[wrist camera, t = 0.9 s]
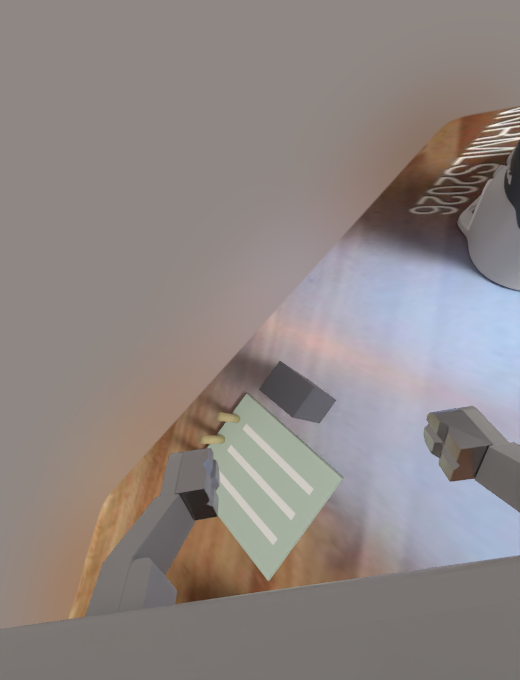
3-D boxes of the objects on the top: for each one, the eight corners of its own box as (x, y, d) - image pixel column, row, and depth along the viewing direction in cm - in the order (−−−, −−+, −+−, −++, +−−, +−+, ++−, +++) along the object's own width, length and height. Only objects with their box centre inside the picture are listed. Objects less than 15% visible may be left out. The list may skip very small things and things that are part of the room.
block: (307, 378, 44) (278, 359, 33) (336, 400, 41) (314, 386, 31) (291, 400, 44) (257, 388, 33) (319, 423, 41) (292, 417, 31)
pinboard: (249, 394, 47) (230, 388, 42) (343, 477, 38) (334, 483, 32) (191, 474, 47) (165, 478, 42) (271, 577, 38) (250, 599, 32)
